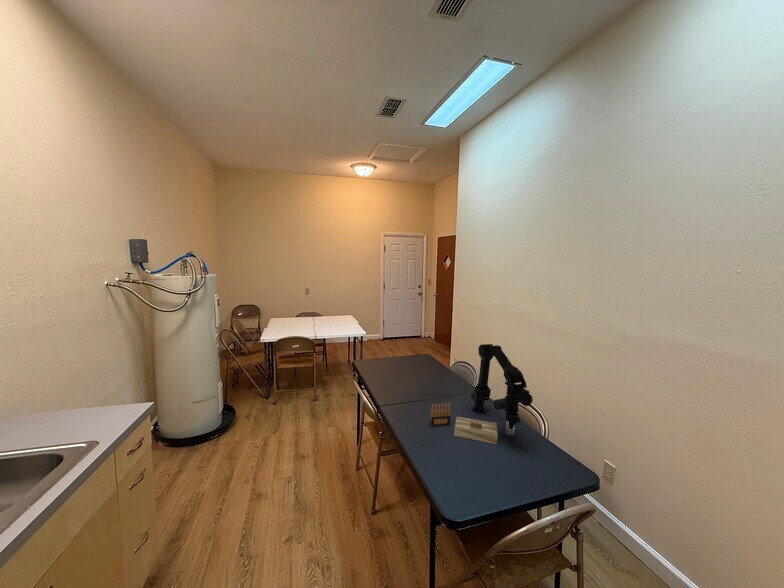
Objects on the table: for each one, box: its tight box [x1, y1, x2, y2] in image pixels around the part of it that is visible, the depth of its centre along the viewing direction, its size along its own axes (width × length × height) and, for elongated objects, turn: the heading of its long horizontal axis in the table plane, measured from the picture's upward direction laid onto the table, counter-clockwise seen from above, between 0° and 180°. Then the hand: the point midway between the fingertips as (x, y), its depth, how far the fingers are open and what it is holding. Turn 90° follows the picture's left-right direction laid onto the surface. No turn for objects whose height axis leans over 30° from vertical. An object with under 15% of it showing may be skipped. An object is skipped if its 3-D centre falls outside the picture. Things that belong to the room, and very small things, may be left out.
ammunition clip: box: [429, 402, 451, 428], centre depth 164 cm, size 11×2×12 cm, turn 100°
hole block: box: [453, 416, 499, 445], centre depth 158 cm, size 12×20×4 cm, turn 73°
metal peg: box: [505, 411, 516, 436], centre depth 155 cm, size 4×4×10 cm
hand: (510, 426), depth 155 cm, fingers closed on metal peg, 4 cm apart
